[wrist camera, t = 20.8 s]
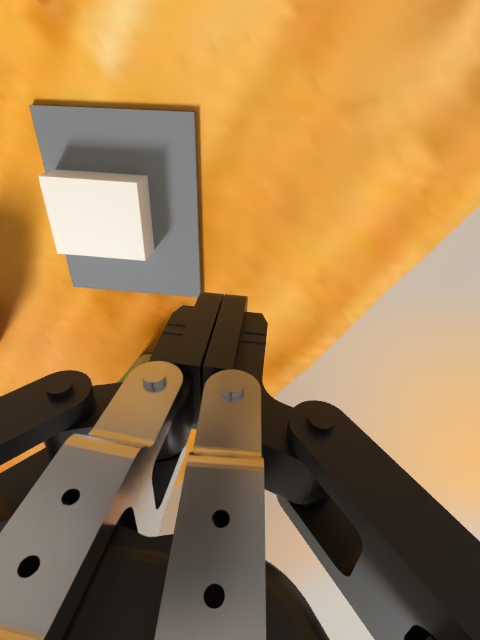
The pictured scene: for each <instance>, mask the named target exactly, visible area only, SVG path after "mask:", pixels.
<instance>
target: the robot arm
mask: <svg viewBox="0 0 480 640" xmlns="http://www.w3.org/2000/svg"><path fill="white" fill-rule="evenodd" d="M247 302H248V297H247V296H237V295H228V294H225V295H224V294H217V293H207V292H201V293H200V295H199V297H198V299H197V302H196V304H195V307H194V306H184V305H183V306H182V307H180V308H179V309H178V310H176V311H175V312H174V313H172V315H171V317H170V319H169V321H168V323H167V326H166V327H165V329H164V331H163V334H162V335H161V337H160V339H159V341H158V343H157V345H156V347H155V349H154V351H153V353H152V355H151V357H150V359H149V361H148V362H147V363H144V364H141V365H139V366H137V367H136V368H134V369H133V370H132V371H131V372H130V373H129V374H128V376H127V377H126V379H125V380H124V381H123V382H119V383H113V384H105V385H96V386H92V383H91V380H90V378H89V377H88V376H87V375H86V374H84V373H82V372H79V371H72V370H67V371H60V372H56V373H53V374H50V375H48V376H45V377H43V378H41V379H39V380H36V381H34V382H32V383H30V384H28V385H25V386H23V387H21V388H19V389H17V390H14V391H12V392H10V393H8V394H6V395H3V396H1V397H0V465H2V464H4V463H6V462H7V461H9V460H11V459H13V458H15V457H16V456H18V455H20V454H22V453H24V452H25V451H27V450H29V449H31V448H33V447H35V446H36V445H38V444H40V443H42V442H44V444H45V447H46V448H44V449H42V450H41V451H39V452H37V453H35V454H33V455H32V456H30V457H28V458H26V459H25V460H23V461H21V462H19V463H18V464H16V465H14V466H12V467H11V468H9V469H7V470H5V471H3V472H2V473H0V640H330V639H329V638H328V636H327V634H326V633H325V631H324V629H323V628H322V626H321V624H320V622H319V621H318V619H317V618H316V616H315V614H314V612H313V611H312V609H311V607H310V606H309V604H308V602H307V601H306V599H305V598H304V597H303V595H302V594H301V593H300V591H299V590H298V589H297V587H296V586H295V585H294V584H293V583H292V582H291V581H290V580H289V579H288V578H287V576H286V575H284V574H283V573H282V572H281V571H279V570H278V569H277V568H276V567H275V566H273V565H272V564H271V563H269V562H267V561H266V560H265V504H264V503H265V502H264V501H265V500H264V499H265V498H264V489H266V490H268V491H270V492H272V493H274V494H276V495H277V499H278V501H279V503H280V505H281V507H282V508H283V510H284V511H285V513H286V514H287V515H288V517H289V518H290V520H291V521H292V522H293V524H294V525H295V527H296V528H297V530H298V531H299V532H300V534H301V535H302V536H303V538H304V539H305V541H306V542H307V544H308V545H309V546H310V548H311V549H312V551H313V552H314V554H315V555H316V557H317V558H318V559H319V561H320V562H321V564H322V565H323V566H324V568H325V569H326V571H327V572H328V574H329V575H330V576H331V578H332V579H333V581H334V582H335V584H336V585H337V586H338V588H339V589H340V591H341V592H342V594H343V595H344V596H345V598H346V599H347V601H348V602H349V603H350V605H351V606H352V607H353V609H354V611H355V612H356V613H357V615H358V616H359V618H360V619H361V621H362V622H363V623H364V625H365V626H366V628H367V629H368V630H369V632H370V633H371V635H372V636H373V638H374V639H375V640H480V541H479V540H478V539H477V538H475V537H474V536H473V535H472V534H471V533H470V532H469V531H468V530H467V529H466V528H465V527H464V526H463V525H462V524H460V522H459V521H457V520H456V519H455V518H454V517H453V516H452V515H451V514H450V513H449V512H448V511H447V510H446V509H445V508H444V507H443V506H442V505H441V504H439V503H438V502H437V501H436V500H435V499H434V498H433V497H432V496H431V495H430V494H429V493H428V492H427V491H426V490H425V489H424V488H423V487H421V486H420V485H419V484H418V483H417V482H416V481H415V480H414V479H413V478H412V477H411V476H410V475H409V474H408V473H407V472H406V471H405V470H404V469H402V468H401V467H400V466H399V465H398V464H397V463H396V462H395V461H394V460H393V459H392V458H391V457H390V456H389V455H388V454H387V453H386V452H384V451H383V450H382V449H381V448H380V447H379V446H378V445H377V444H376V443H375V442H374V441H373V440H372V439H371V438H370V437H369V436H367V435H366V434H365V433H364V432H363V431H362V430H361V429H360V428H359V427H358V426H357V425H356V424H355V423H354V422H353V421H351V419H350V418H348V417H347V416H346V415H345V414H344V413H343V412H342V411H341V410H340V409H338V408H337V407H335V406H333V405H331V404H329V403H326V402H322V401H306V402H302V403H300V404H298V405H296V406H295V407H294V408H293V407H290V406H288V405H285V404H283V403H281V402H279V401H277V400H275V399H274V398H273V397H271V396H270V395H269V394H268V393H267V391H266V390H265V388H264V386H263V383H262V375H263V365H264V355H265V345H266V335H267V325H268V323H267V321H266V320H265V318H264V316H263V314H262V313H252V312H247ZM191 428H192V429H197V431H196V437H195V443H194V448H193V452H190V453H189V456H188V460H187V464H186V470H185V475H184V481H183V486H182V491H181V497H180V502H179V508H178V514H177V519H176V524H175V530H174V534H171V535H163V536H159V532H160V525H161V521H162V517H163V514H164V511H165V508H166V506H167V503H168V500H169V498H170V495H171V492H172V490H173V487H174V484H175V482H176V479H177V476H178V474H179V471H180V468H181V465H182V463H183V460H184V457H185V455H186V449H187V446H186V444H187V441H188V438H189V434H190V431H191Z"/></svg>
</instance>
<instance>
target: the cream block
mask: <svg viewBox="0 0 480 640" xmlns="http://www.w3.org/2000/svg"><path fill="white" fill-rule="evenodd" d="M38 177H39V181H40V185H41V189H42V193H43V197H44V201H45V205H46V209H47V213H48V217H49V221H50V225H51V229H52V233H53V237H54V241H55V245H56V249H57V253H59V254H70V255H82V256H94V257H106V258H117V259H129V260H141V261H146V259H147V258H148V257H149V256H150V254H151V253H152V252H153V251H154V240H153V230H152V219H151V209H150V198H149V187H148V177H147V175H132V174H117V173H102V172H87V171H72V170H57V169H55V170H53V171H50V172H47V173H45V174H42V175H40V176H38Z"/></svg>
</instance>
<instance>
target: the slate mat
mask: <svg viewBox="0 0 480 640" xmlns="http://www.w3.org/2000/svg"><path fill="white" fill-rule="evenodd" d="M29 107H30V111H31V115H32V119H33V123H34V128H35V132H36V136H37V140H38V144H39V148H40V152H41V156H42V160H43V164H44V168H45V173H47V172H50V171H53V170H55V169H57V170H72V171H87V172H102V173H117V174H132V175H147V177H148V187H149V198H150V209H151V219H152V230H153V240H154V251H153V252H152V253H151V254H150V256H149V257H148V258H147V259H146V261H141V260H129V259H117V258H106V257H94V256H82V255H70V254H66V259H67V263H68V267H69V271H70V275H71V279H72V283H73V287H82V288H94V289H106V290H118V291H130V292H142V293H154V294H166V295H177V296H189V297H199V295H200V293H201V272H200V241H199V210H198V179H197V148H196V117H195V112H190V111H167V110H143V109H120V108H96V107H73V106H50V105H29Z"/></svg>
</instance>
